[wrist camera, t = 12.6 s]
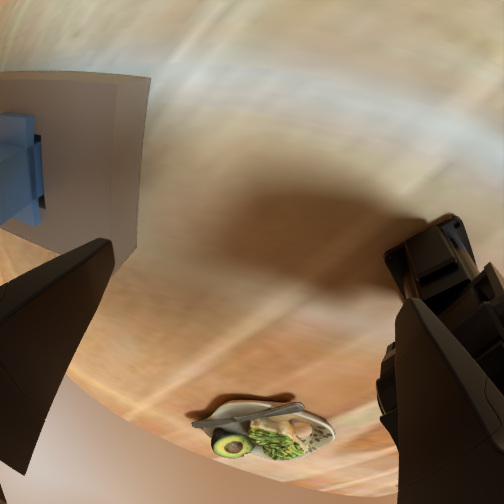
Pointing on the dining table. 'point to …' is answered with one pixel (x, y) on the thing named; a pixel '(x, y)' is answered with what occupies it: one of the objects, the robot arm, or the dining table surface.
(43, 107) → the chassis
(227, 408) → the salad plate
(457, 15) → the dining table surface
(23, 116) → the servo
